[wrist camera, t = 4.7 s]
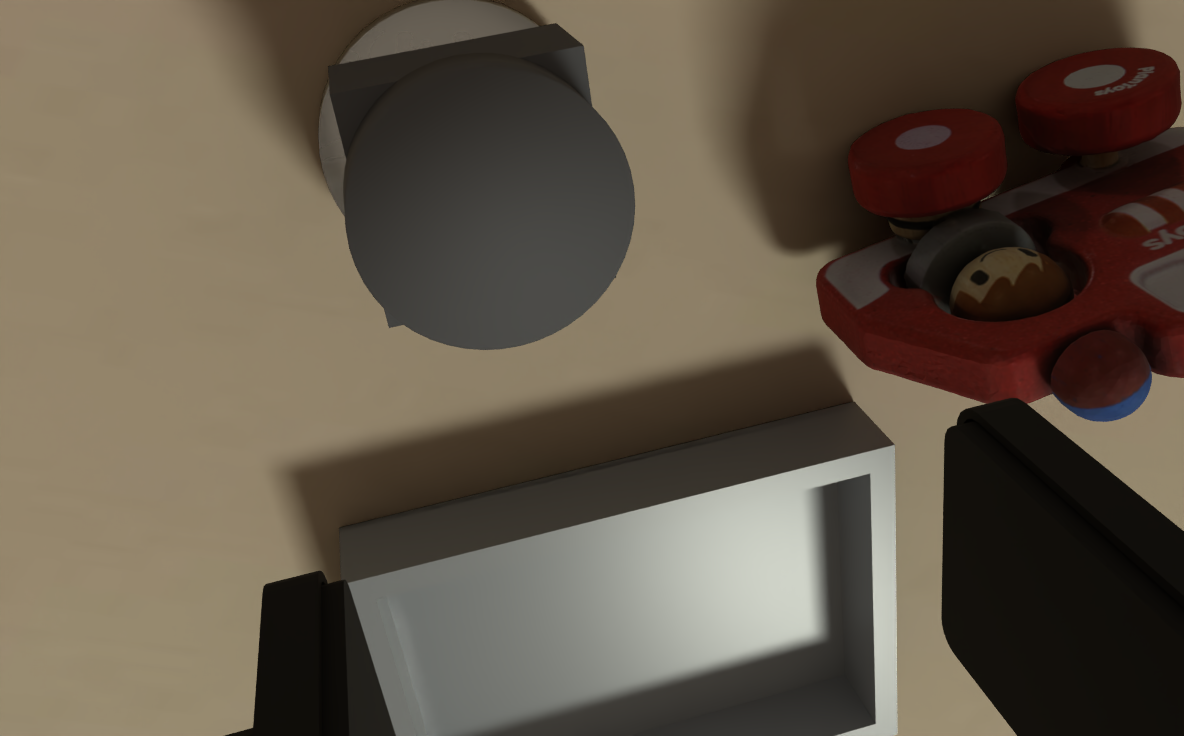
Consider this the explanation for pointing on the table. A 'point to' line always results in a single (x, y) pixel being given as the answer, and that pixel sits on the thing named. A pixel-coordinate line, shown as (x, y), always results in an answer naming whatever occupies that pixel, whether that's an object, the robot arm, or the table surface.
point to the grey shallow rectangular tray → (648, 593)
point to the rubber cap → (482, 186)
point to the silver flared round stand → (438, 16)
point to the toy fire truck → (1026, 243)
